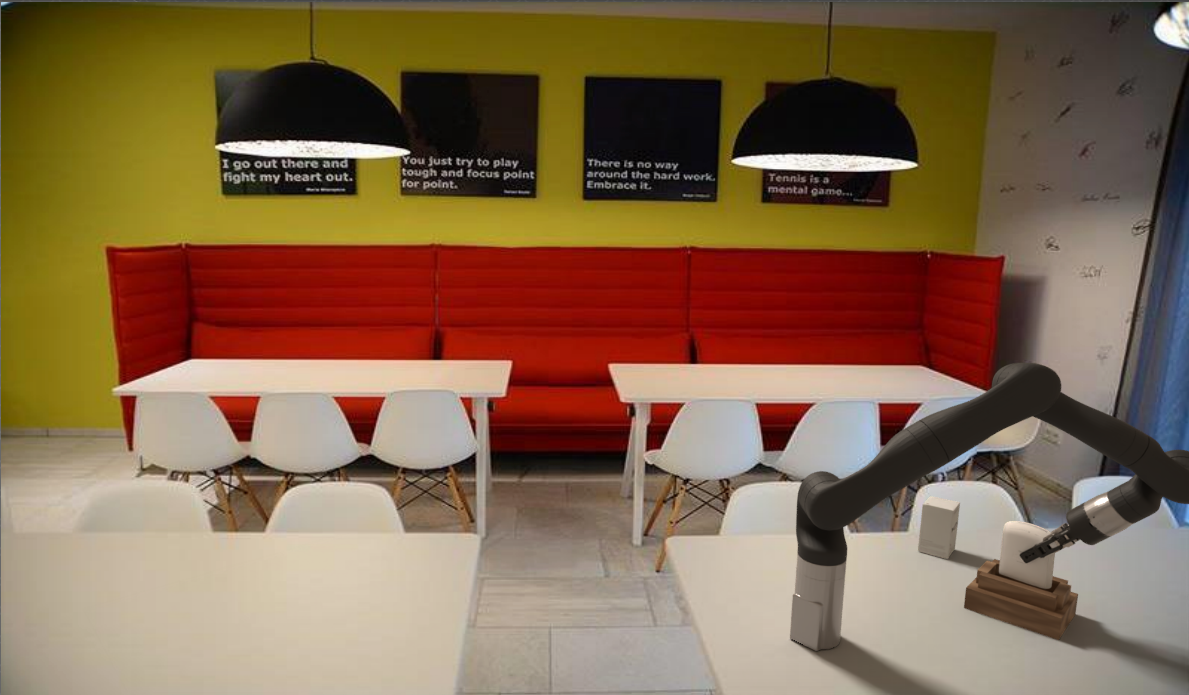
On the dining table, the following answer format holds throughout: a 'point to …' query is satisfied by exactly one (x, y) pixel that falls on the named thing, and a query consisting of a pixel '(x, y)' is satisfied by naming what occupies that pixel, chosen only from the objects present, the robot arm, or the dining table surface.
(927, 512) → the supplement box
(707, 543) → the dining table surface
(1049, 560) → the photo printer
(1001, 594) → the wooden holder
